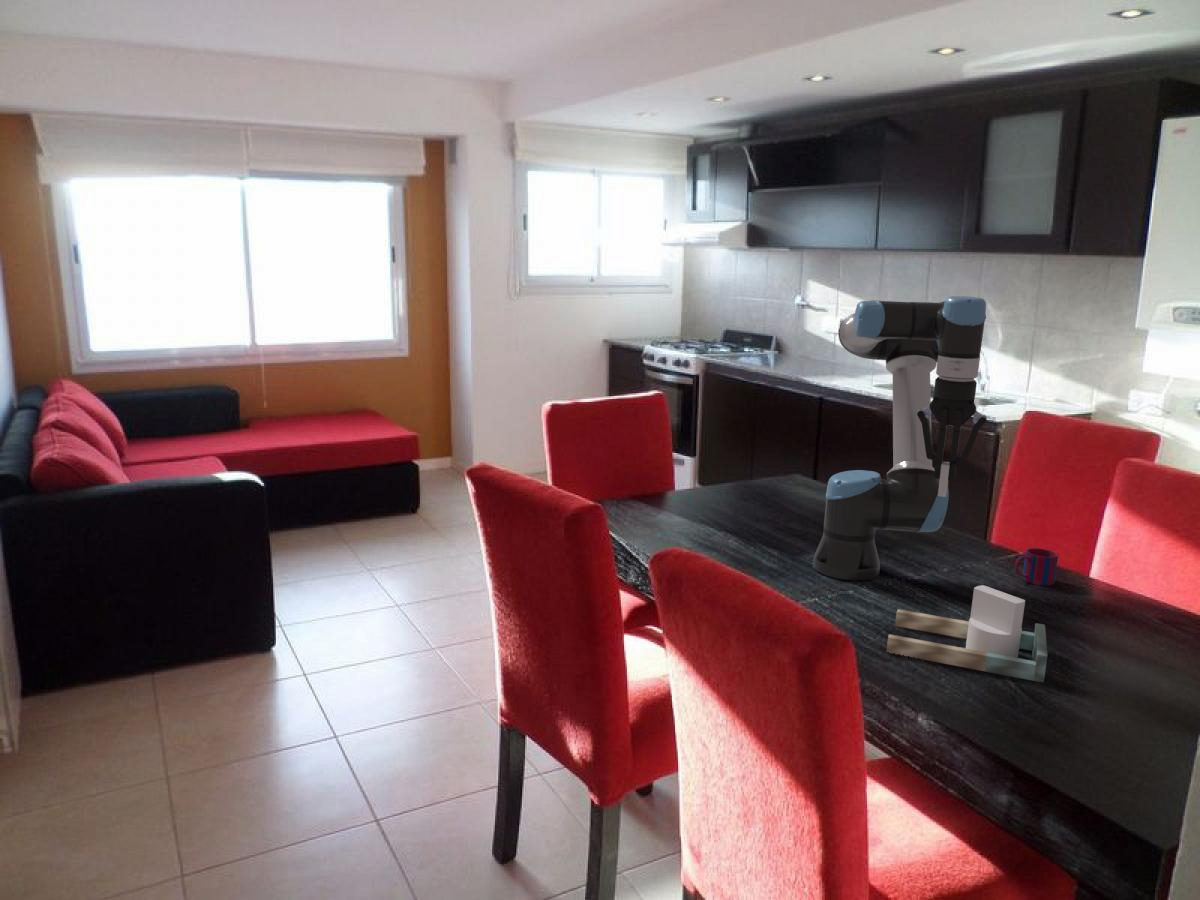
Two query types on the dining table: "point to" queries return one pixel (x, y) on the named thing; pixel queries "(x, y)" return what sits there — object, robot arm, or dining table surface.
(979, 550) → the dining table surface
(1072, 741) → the dining table surface
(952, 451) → the robot arm
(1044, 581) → the mug
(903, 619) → the bay
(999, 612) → the cylinder with rectangular tab
